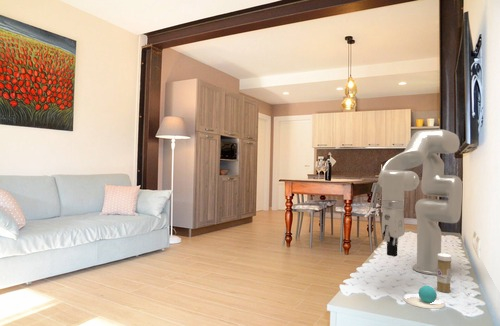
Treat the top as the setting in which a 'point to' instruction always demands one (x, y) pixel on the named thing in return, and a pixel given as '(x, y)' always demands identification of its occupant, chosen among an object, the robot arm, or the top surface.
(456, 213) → the robot arm
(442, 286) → the sprinkles bottle
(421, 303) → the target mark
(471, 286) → the top surface
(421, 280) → the top surface
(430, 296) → the ball
